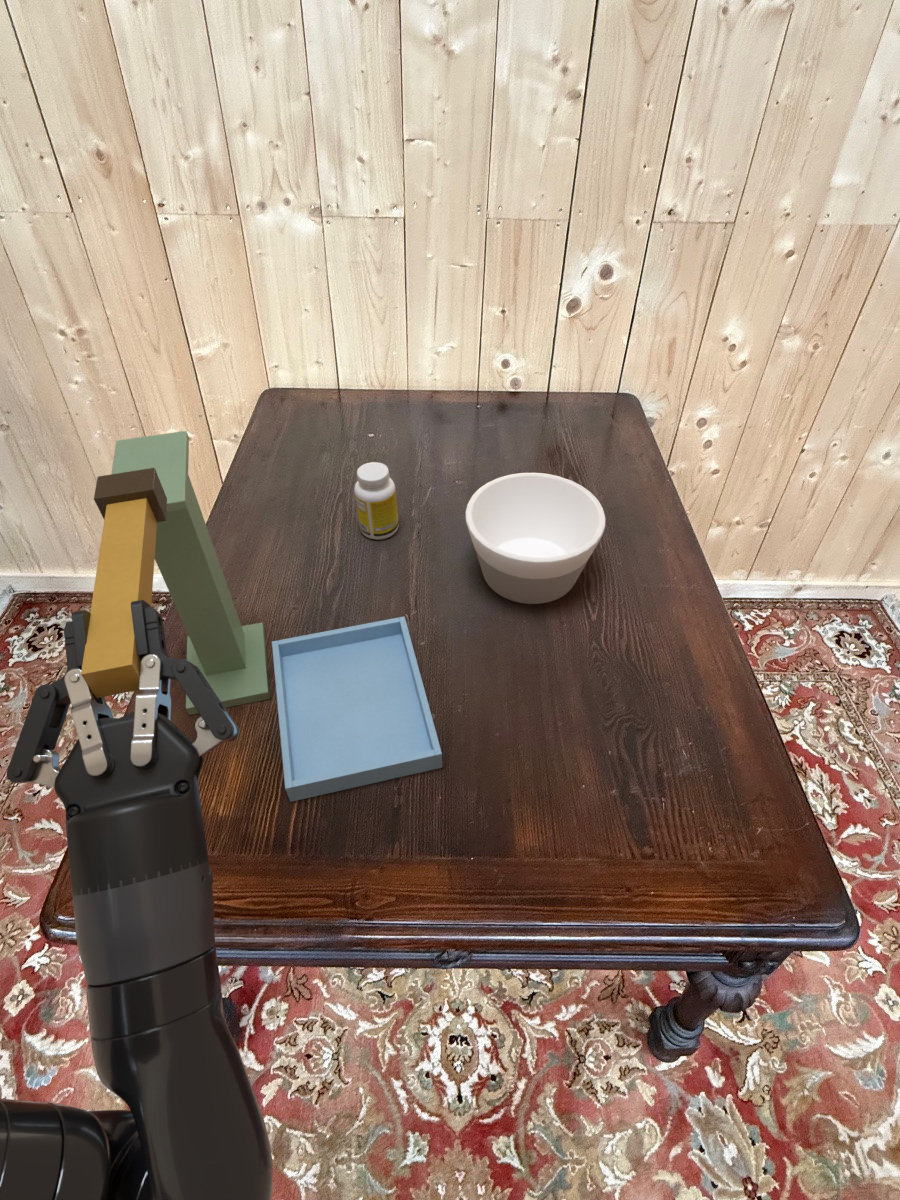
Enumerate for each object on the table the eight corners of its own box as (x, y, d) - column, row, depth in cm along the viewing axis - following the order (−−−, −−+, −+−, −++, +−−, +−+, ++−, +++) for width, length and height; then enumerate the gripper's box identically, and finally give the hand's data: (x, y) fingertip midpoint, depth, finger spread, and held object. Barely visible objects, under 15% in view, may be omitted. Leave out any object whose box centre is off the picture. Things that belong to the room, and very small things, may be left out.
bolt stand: (189, 715, 86) (87, 515, 62) (190, 643, 94) (100, 442, 70) (270, 698, 87) (201, 498, 64) (264, 629, 95) (201, 428, 72)
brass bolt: (85, 701, 44) (63, 669, 41) (112, 507, 57) (97, 476, 55) (157, 686, 44) (139, 654, 42) (167, 498, 58) (154, 467, 55)
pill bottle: (404, 519, 111) (399, 462, 103) (391, 544, 107) (385, 486, 99) (367, 512, 112) (360, 455, 104) (354, 537, 108) (345, 480, 100)
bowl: (568, 635, 94) (578, 580, 86) (442, 591, 100) (441, 535, 92) (611, 549, 106) (623, 493, 98) (496, 514, 112) (499, 458, 104)
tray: (290, 802, 78) (285, 788, 75) (276, 656, 92) (271, 641, 90) (442, 767, 80) (442, 753, 78) (405, 631, 95) (404, 616, 92)
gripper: (252, 860, 39) (209, 572, 43) (-16, 925, 37) (-37, 615, 41) (270, 847, 46) (232, 602, 50) (47, 901, 44) (25, 639, 48)
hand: (112, 609), depth 45 cm, fingers closed on brass bolt, 3 cm apart
